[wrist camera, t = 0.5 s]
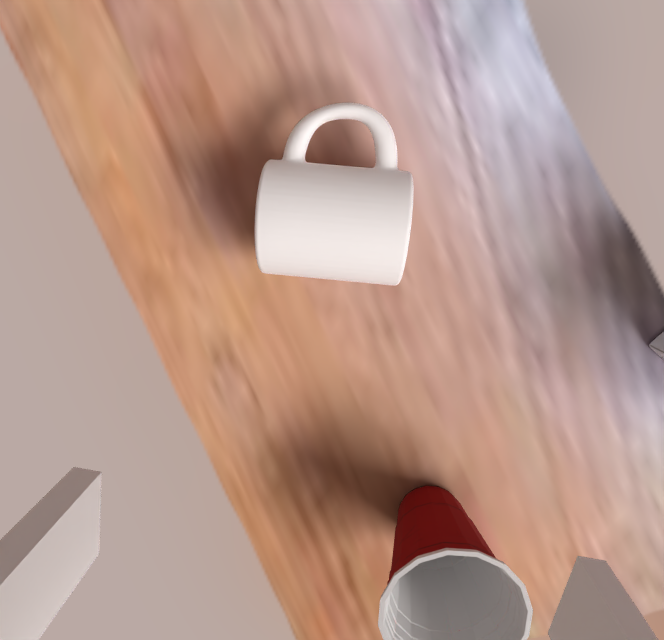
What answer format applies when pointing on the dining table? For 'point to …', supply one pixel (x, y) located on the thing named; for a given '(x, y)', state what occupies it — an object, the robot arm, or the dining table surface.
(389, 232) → the mug
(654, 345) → the tea box
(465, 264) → the dining table surface
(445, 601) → the plastic cup
